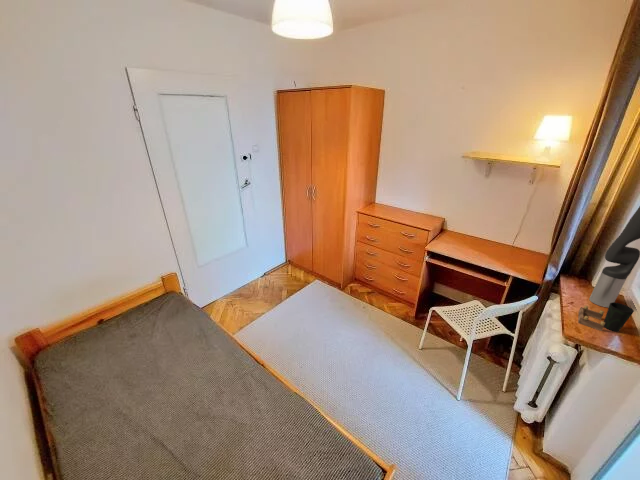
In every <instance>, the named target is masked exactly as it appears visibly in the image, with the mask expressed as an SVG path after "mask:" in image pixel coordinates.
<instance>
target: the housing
mask: <svg viewBox="0 0 640 480" xmlns="http://www.w3.org/2000/svg"><path fill="white" fill-rule="evenodd" d="M604 313H605V311H604V310H599V311H594V310H590V309H589V306H588V305H584V306H583V307H580V308H579V310H578V319H577V320H578V321H577V323H578V324H580V325H582V326H586V327H588V328H591V329H595V330H597V331H600V332H603V330H604V329H605V328H604V325H605V322H604V320H603V321H602V318H603V316H604ZM589 317H591V318H594V319H597V320H600V322H595V321H593V320H590V319H589Z"/></svg>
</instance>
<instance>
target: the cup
mask: <svg viewBox="0 0 640 480" xmlns="http://www.w3.org/2000/svg"><path fill="white" fill-rule="evenodd" d="M634 312H635V311H634V309H633V308H631V307H630V306H629V305H626V304H623V303H619V302H616V301H615V302H612V303H610V305H609V307H607V311H606V315H605V317H604V320H603V322H605V325H604V328H603V329H606V330H607V331H610V332H612V333H613V332H614V333H619V332H620V331H621V329H622V328H623V327H624V326H625V324H626V323H627V322H628V320H629V319H630V317H631V316H632V315H633V314H634Z"/></svg>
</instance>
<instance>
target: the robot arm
mask: <svg viewBox="0 0 640 480" xmlns="http://www.w3.org/2000/svg"><path fill="white" fill-rule="evenodd" d="M638 240H640V205H639V207H638V208H637V209H636V210H635V212H634V213H633V215H632V216H631V218H630V219H629V220H628V222H627V224H626V225H625V227H624V229H623V230H622V231H621V232H620V234H619V235H618V236H617V238H616V239H615V240H614V241H613V242H612V244H611V245H610V246H609V247H608V248H607V250H606V251H605V255H604V258H605V260H606V261H607V262H608V263H613V264H617V265H611V266H605V267H604V268H603V269H602V270H601V272H600V275H599V278H598V280H597V282H596V284H595V285H594V288H593V289H592V292H591V295H590V296H589V301H590V302H591V303H592V304H594V305H597V306H600V307H604V308H609V305H610V303H612V302H615V303H616V300H617V298H618V297H619V295H620V293H621V290H622V289H623V286H624V284H625V283H626V281H627V278H628V277H629V275H630V274H631V273H632V271H633V269H634V268H635V266H636V265H637V262H639V259H640V250H639V248H636V247H631V246H628V245H629V244H630V243H633V242H634V241H638Z"/></svg>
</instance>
